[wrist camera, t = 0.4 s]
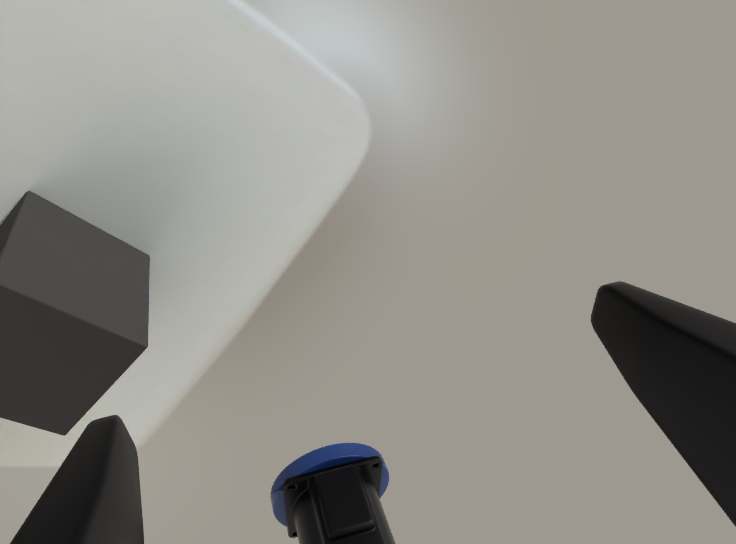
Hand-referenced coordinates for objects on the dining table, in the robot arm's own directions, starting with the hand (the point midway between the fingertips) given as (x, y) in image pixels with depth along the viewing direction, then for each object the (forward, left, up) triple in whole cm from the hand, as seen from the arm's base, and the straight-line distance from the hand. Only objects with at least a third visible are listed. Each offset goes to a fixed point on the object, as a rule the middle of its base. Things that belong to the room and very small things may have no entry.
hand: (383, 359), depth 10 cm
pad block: (-5, +9, -13) cm, 17 cm away
